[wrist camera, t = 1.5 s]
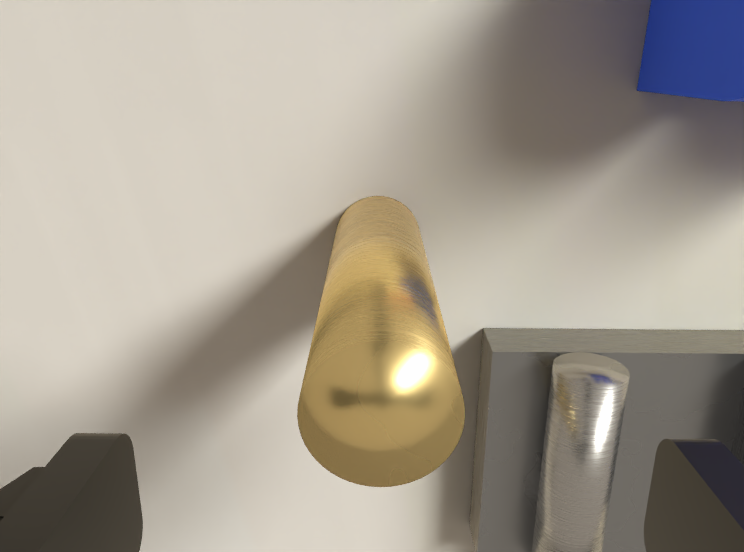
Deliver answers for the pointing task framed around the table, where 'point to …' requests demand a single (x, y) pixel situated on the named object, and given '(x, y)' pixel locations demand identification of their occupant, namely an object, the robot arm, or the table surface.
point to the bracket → (694, 49)
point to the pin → (380, 356)
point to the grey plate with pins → (591, 429)
